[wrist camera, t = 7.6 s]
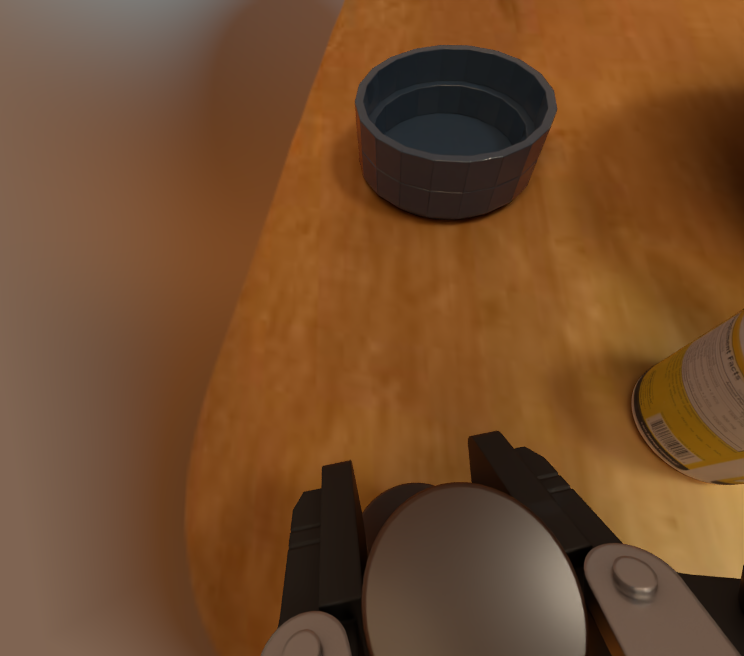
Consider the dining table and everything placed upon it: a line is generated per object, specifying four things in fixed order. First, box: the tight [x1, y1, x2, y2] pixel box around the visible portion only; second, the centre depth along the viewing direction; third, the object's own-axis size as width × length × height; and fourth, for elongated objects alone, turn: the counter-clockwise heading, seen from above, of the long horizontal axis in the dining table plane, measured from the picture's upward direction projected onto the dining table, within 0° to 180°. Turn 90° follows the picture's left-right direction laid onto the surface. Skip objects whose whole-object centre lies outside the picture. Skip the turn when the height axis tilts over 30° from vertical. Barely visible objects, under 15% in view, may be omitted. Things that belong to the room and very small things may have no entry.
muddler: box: [361, 482, 589, 656], centre depth 10 cm, size 5×5×11 cm
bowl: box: [355, 45, 557, 220], centre depth 28 cm, size 14×14×6 cm
